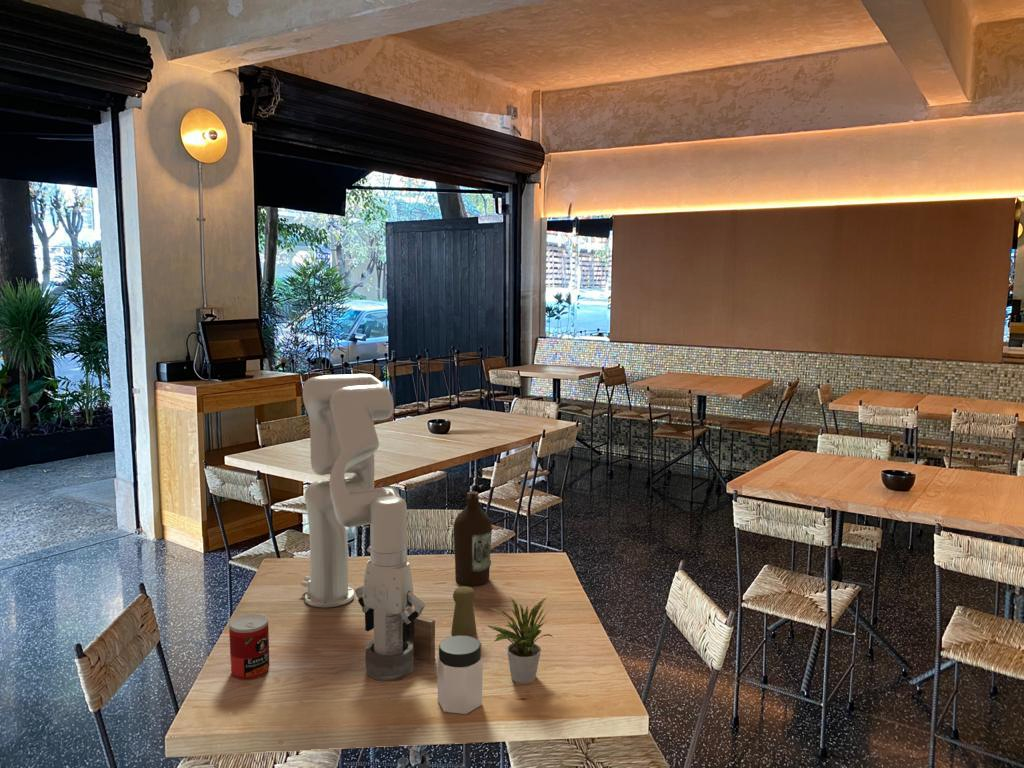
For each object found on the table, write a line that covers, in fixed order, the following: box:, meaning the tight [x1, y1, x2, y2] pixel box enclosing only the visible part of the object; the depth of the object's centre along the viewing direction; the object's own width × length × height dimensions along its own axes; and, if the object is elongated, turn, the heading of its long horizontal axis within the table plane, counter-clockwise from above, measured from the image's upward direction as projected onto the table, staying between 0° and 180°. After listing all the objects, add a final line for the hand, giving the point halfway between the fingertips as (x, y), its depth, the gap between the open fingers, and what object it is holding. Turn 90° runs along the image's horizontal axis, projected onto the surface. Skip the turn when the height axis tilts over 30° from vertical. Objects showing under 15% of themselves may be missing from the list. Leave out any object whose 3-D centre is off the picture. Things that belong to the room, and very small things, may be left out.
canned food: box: [228, 613, 270, 681], centre depth 157 cm, size 8×8×11 cm
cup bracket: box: [364, 612, 436, 682], centre depth 160 cm, size 13×12×9 cm
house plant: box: [487, 596, 553, 685], centre depth 156 cm, size 14×14×16 cm
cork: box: [450, 585, 477, 638], centre depth 175 cm, size 6×6×11 cm
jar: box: [437, 635, 484, 715], centre depth 145 cm, size 9×8×12 cm
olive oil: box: [452, 490, 493, 587], centre depth 207 cm, size 11×11×25 cm
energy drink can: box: [373, 607, 403, 655], centre depth 158 cm, size 6×6×15 cm
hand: (389, 633), depth 158 cm, fingers open, 9 cm apart
